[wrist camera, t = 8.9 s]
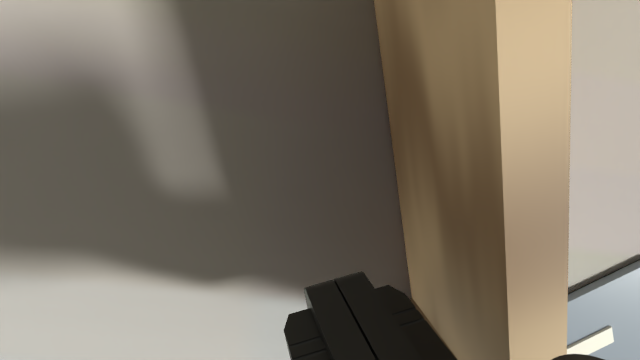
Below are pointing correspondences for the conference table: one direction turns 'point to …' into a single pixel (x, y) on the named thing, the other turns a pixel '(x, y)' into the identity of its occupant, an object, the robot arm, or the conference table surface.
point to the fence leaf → (483, 167)
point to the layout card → (606, 316)
